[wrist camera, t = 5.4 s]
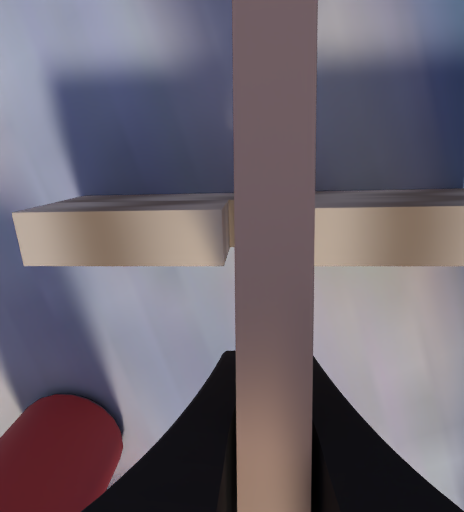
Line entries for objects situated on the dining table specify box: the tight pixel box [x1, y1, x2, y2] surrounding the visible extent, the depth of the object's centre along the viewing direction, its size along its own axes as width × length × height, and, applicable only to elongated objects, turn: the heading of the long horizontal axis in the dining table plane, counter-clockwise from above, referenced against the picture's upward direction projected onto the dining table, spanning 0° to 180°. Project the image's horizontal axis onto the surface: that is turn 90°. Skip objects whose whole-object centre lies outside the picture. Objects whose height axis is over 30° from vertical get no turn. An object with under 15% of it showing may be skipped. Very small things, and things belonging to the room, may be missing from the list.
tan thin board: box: [232, 0, 318, 512], centre depth 8 cm, size 1×12×7 cm, turn 2°
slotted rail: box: [12, 189, 464, 266], centre depth 13 cm, size 18×2×5 cm, turn 92°
